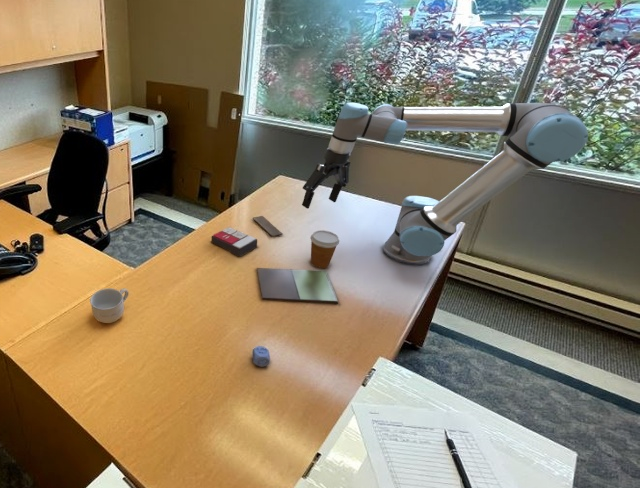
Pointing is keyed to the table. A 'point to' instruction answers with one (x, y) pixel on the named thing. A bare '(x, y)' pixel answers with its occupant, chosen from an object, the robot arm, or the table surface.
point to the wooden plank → (267, 226)
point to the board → (296, 285)
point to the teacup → (108, 304)
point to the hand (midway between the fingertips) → (318, 203)
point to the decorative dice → (261, 356)
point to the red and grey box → (234, 241)
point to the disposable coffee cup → (323, 248)
